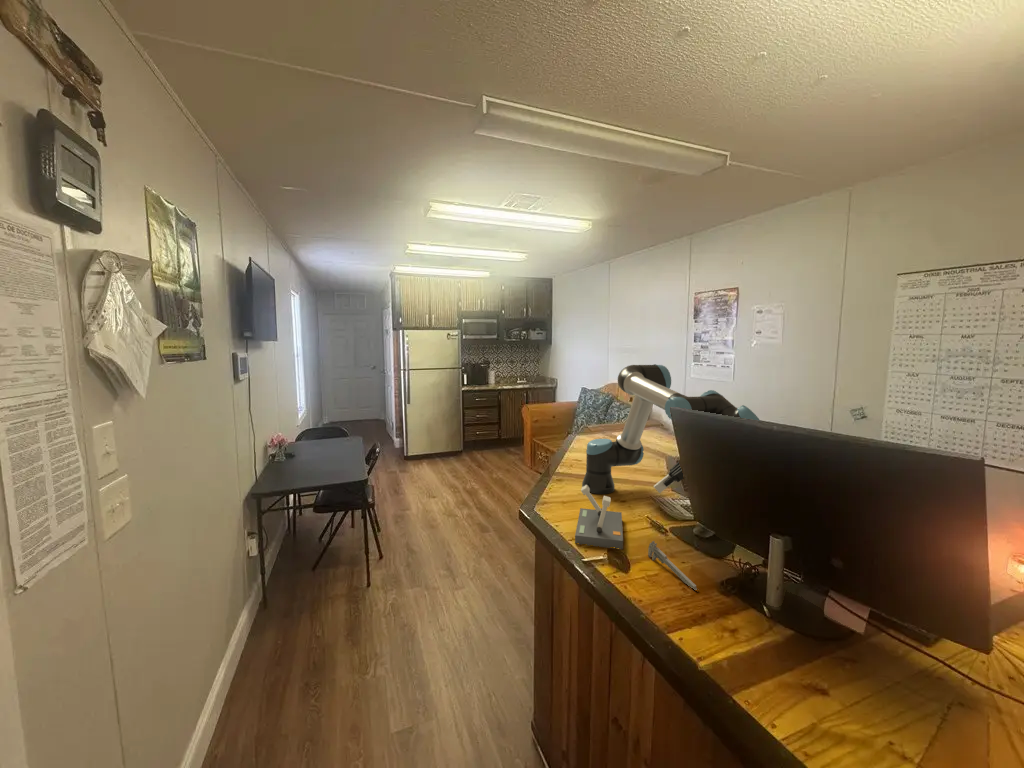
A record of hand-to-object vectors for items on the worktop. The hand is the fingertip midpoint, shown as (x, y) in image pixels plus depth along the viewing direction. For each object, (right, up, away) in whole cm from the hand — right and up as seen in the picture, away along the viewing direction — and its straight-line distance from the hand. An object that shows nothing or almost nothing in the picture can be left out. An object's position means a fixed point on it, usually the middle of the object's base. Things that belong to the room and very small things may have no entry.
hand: (656, 489), depth 138 cm
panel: (-16, -19, +13) cm, 28 cm away
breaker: (-15, -14, +19) cm, 28 cm away
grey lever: (-18, -15, +6) cm, 24 cm away
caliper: (-1, -22, -14) cm, 26 cm away
